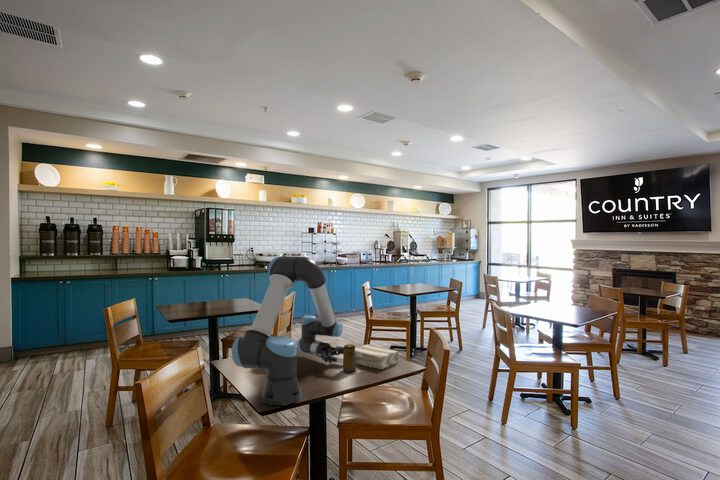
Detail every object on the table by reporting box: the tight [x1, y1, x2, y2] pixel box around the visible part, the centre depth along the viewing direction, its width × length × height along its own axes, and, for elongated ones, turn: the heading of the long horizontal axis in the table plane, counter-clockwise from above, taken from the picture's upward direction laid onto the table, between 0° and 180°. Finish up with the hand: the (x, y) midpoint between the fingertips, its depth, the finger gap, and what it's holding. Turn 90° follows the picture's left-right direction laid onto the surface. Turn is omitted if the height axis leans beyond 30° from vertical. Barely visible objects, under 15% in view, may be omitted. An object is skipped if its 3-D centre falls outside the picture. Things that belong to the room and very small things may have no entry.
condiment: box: [339, 343, 362, 375], centre depth 183 cm, size 7×8×12 cm
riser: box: [355, 343, 399, 370], centre depth 196 cm, size 14×20×6 cm
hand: (352, 357), depth 182 cm, fingers open, 13 cm apart
